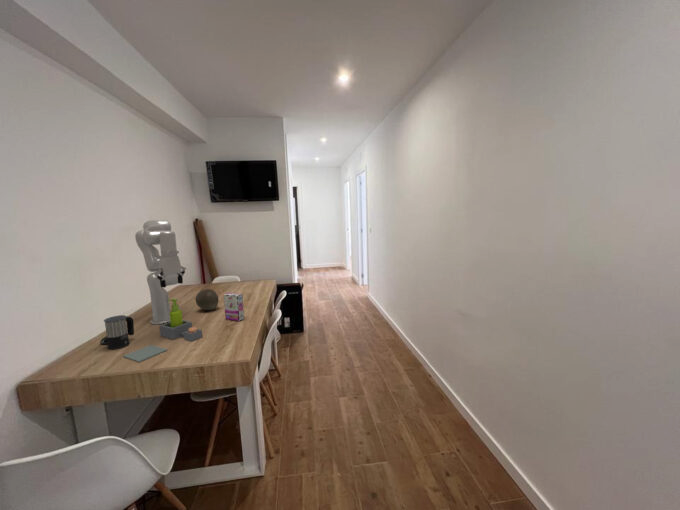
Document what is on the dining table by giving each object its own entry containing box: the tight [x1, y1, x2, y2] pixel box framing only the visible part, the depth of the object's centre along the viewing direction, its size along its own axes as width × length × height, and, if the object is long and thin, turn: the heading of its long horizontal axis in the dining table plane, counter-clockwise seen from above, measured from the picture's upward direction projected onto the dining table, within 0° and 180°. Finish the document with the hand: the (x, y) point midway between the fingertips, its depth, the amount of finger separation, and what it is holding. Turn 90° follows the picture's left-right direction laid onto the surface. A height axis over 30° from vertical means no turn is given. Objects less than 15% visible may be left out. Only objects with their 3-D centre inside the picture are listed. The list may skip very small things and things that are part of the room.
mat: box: [122, 344, 168, 363], centre depth 141 cm, size 13×13×1 cm
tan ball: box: [188, 326, 198, 333], centre depth 158 cm, size 4×4×3 cm
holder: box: [159, 319, 203, 342], centre depth 162 cm, size 23×11×6 cm, turn 63°
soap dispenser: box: [167, 298, 184, 328], centre depth 164 cm, size 6×7×20 cm
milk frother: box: [99, 314, 135, 350], centre depth 152 cm, size 14×16×15 cm
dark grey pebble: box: [195, 288, 219, 311], centre depth 206 cm, size 14×14×15 cm
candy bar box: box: [223, 292, 245, 322], centre depth 186 cm, size 11×5×16 cm, turn 68°
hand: (172, 285), depth 161 cm, fingers open, 9 cm apart
